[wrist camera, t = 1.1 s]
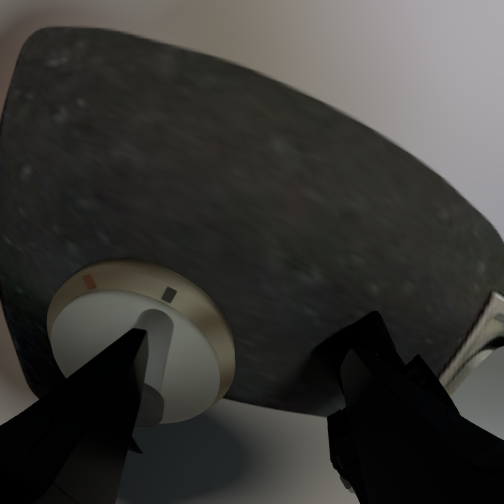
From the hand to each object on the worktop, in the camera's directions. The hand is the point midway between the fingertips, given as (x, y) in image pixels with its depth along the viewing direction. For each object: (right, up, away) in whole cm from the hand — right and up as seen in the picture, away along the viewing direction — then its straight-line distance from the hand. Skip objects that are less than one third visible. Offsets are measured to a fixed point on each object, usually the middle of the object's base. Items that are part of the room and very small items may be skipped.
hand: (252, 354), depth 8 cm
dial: (-9, -6, +12) cm, 17 cm away
